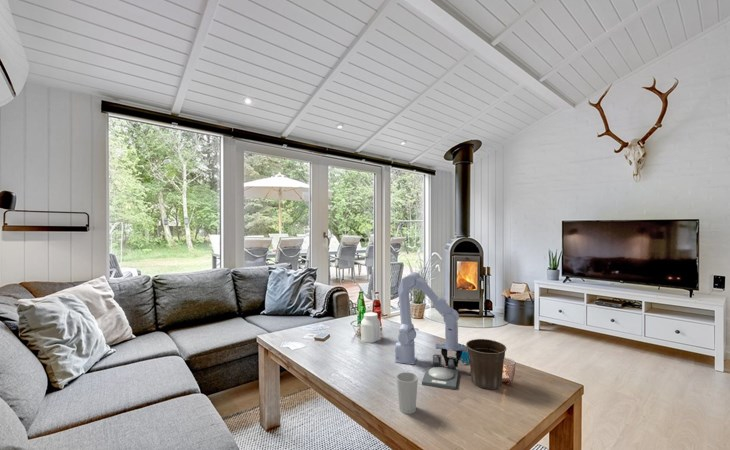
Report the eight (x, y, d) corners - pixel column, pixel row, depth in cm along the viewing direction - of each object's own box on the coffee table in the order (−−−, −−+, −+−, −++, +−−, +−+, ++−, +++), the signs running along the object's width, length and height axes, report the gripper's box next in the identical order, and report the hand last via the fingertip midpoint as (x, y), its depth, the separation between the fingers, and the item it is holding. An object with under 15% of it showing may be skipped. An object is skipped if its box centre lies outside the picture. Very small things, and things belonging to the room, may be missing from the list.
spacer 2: (446, 370, 154) (446, 359, 154) (447, 366, 158) (447, 355, 158) (455, 371, 153) (455, 360, 153) (456, 367, 157) (456, 356, 157)
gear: (461, 363, 159) (452, 343, 166) (454, 368, 162) (446, 349, 169) (478, 361, 164) (469, 342, 170) (471, 367, 167) (462, 348, 174)
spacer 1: (432, 367, 159) (432, 357, 158) (433, 364, 162) (433, 353, 162) (441, 368, 157) (440, 358, 157) (442, 365, 161) (441, 354, 161)
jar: (370, 344, 190) (369, 317, 190) (358, 340, 196) (357, 314, 196) (383, 338, 198) (383, 313, 198) (371, 334, 205) (371, 310, 205)
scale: (421, 384, 142) (421, 379, 142) (427, 368, 157) (427, 364, 157) (455, 389, 138) (455, 384, 138) (458, 372, 153) (458, 368, 153)
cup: (395, 403, 128) (394, 372, 127) (415, 402, 128) (415, 371, 128) (398, 415, 120) (398, 382, 120) (420, 414, 120) (420, 381, 120)
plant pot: (487, 396, 132) (487, 356, 132) (458, 379, 146) (458, 343, 146) (515, 386, 140) (515, 348, 139) (485, 371, 154) (484, 336, 154)
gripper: (434, 338, 154) (434, 367, 154) (467, 341, 149) (467, 371, 149) (436, 333, 161) (436, 360, 161) (468, 336, 156) (468, 365, 156)
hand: (451, 365), depth 156 cm, fingers closed on spacer 2, 4 cm apart
